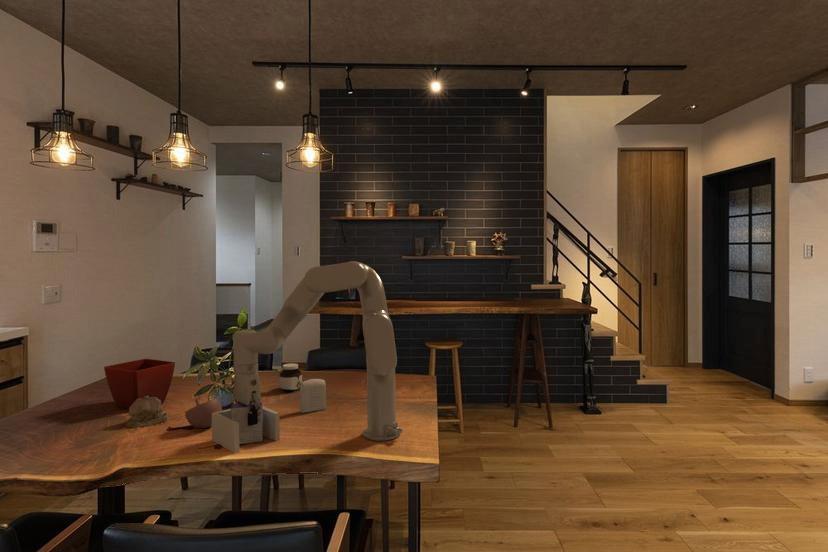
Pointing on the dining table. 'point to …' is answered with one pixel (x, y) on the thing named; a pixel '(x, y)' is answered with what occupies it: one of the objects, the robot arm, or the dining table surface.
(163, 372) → the plant pot
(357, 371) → the dining table surface
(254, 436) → the ink cartridge box
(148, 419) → the ceramic model
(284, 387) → the spread jar
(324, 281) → the robot arm
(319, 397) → the photo printer
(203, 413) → the mortar and pestle
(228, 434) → the cubby
